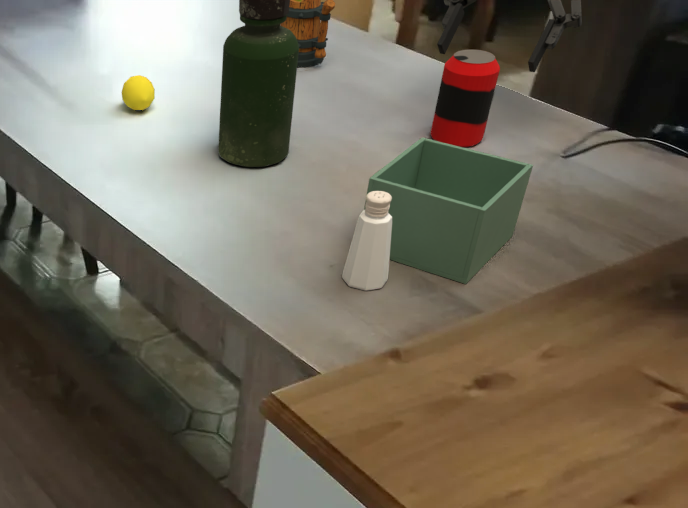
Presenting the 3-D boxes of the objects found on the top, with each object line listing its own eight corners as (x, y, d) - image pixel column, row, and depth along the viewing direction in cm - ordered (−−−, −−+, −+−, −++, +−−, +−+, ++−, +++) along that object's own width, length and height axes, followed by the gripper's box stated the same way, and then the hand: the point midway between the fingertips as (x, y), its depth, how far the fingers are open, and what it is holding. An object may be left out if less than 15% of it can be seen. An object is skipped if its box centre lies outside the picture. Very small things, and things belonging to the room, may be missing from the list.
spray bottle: (248, 133, 144) (261, -42, 128) (302, 152, 138) (322, -29, 122) (203, 155, 139) (210, -25, 123) (257, 176, 134) (272, -10, 117)
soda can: (421, 131, 142) (437, 50, 134) (466, 124, 143) (485, 44, 135) (444, 151, 137) (462, 68, 129) (491, 144, 138) (513, 62, 130)
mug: (257, 55, 170) (262, -12, 162) (301, 44, 173) (308, -23, 165) (301, 77, 161) (309, 6, 153) (347, 64, 164) (357, -5, 156)
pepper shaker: (331, 277, 112) (344, 193, 105) (363, 262, 115) (377, 179, 107) (365, 296, 109) (381, 211, 102) (397, 281, 111) (414, 196, 104)
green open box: (512, 236, 118) (533, 164, 111) (465, 284, 110) (485, 210, 104) (408, 205, 125) (422, 137, 118) (357, 249, 117) (369, 178, 111)
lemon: (160, 114, 152) (160, 81, 148) (129, 119, 151) (128, 86, 147) (146, 99, 157) (146, 66, 153) (116, 104, 156) (115, 71, 152)
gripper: (643, -52, 131) (572, 88, 133) (472, -74, 143) (410, 54, 145) (645, -86, 124) (570, 61, 126) (466, -106, 137) (400, 29, 139)
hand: (484, 58), depth 136 cm, fingers open, 13 cm apart
